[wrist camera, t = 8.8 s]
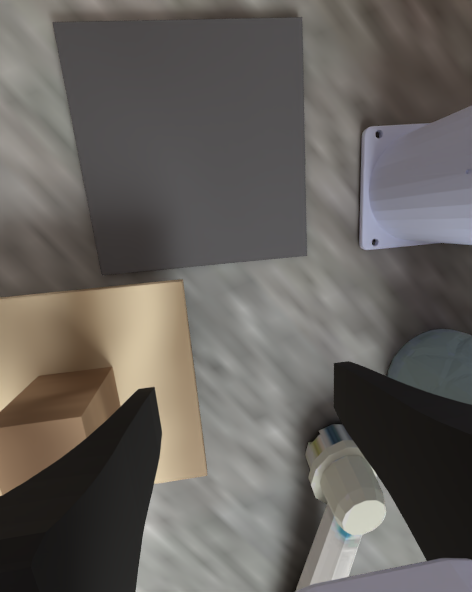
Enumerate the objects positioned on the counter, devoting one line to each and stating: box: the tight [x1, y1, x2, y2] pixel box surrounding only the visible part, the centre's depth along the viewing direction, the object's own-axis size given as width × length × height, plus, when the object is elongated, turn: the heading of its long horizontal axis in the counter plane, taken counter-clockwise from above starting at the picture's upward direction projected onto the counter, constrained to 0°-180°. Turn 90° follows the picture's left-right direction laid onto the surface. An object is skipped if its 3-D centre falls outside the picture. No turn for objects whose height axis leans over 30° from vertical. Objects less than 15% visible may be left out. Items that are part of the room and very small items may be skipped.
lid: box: [0, 279, 207, 496], centre depth 15 cm, size 13×13×5 cm
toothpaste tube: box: [296, 424, 386, 591], centre depth 26 cm, size 5×7×25 cm
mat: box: [53, 17, 307, 275], centre depth 19 cm, size 14×14×1 cm
